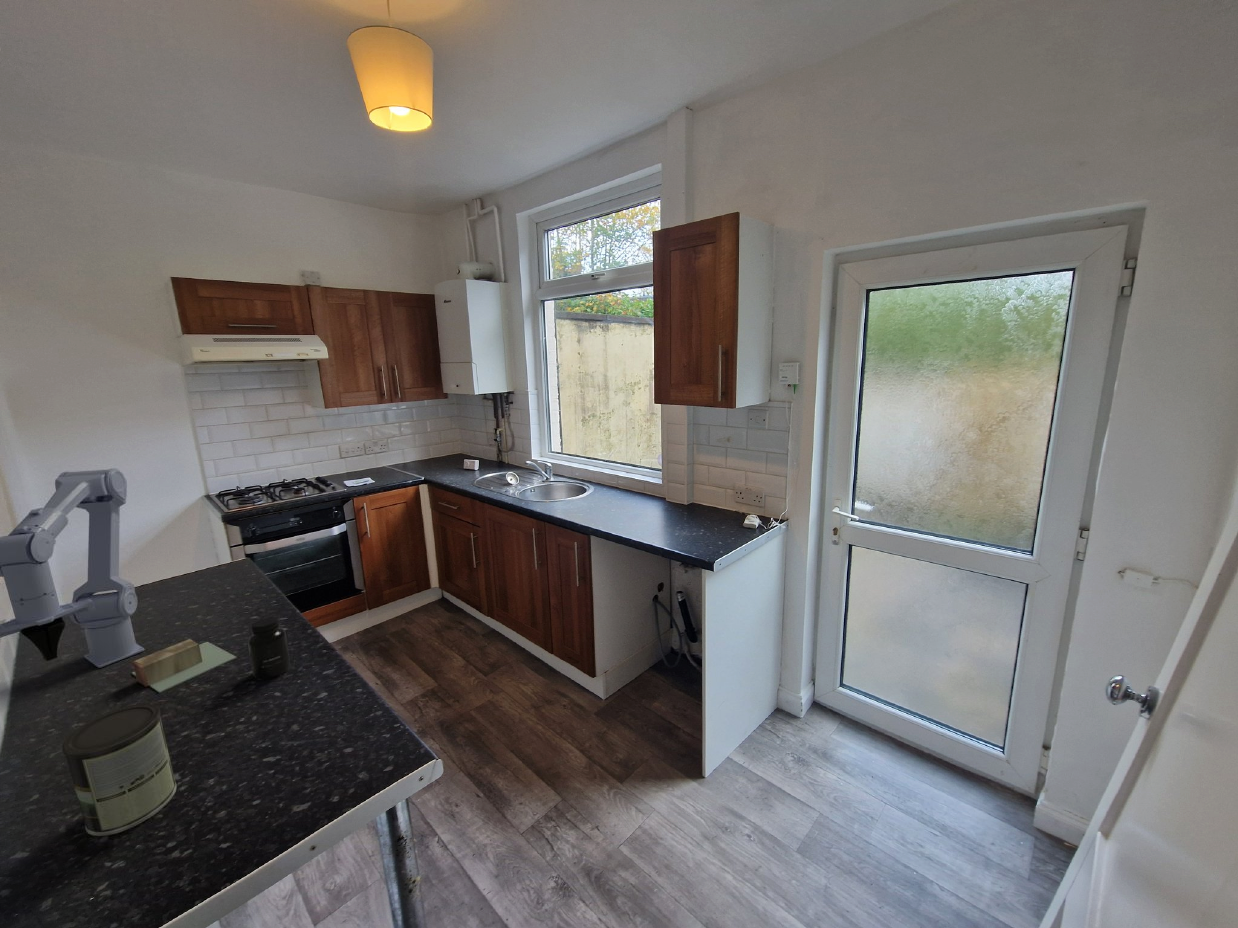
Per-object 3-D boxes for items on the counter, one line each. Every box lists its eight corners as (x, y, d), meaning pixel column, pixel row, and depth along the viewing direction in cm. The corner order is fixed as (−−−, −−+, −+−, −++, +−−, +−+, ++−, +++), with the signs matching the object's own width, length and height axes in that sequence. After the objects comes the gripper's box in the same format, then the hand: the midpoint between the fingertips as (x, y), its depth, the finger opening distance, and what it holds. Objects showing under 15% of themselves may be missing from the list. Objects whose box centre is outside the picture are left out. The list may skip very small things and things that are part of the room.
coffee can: (63, 840, 71) (38, 755, 68) (126, 781, 81) (107, 705, 78) (140, 833, 72) (119, 750, 69) (193, 775, 82) (177, 700, 79)
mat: (132, 673, 110) (131, 672, 110) (207, 642, 122) (207, 641, 122) (159, 692, 103) (159, 691, 103) (236, 657, 115) (236, 656, 115)
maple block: (132, 661, 106) (189, 638, 115) (136, 680, 107) (193, 656, 115) (141, 667, 104) (198, 643, 112) (145, 686, 105) (202, 661, 113)
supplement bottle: (272, 682, 106) (263, 631, 104) (245, 678, 107) (236, 628, 105) (298, 663, 113) (290, 615, 110) (273, 660, 114) (264, 612, 112)
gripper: (-22, 615, 87) (-1, 684, 90) (93, 583, 100) (108, 644, 102) (-32, 607, 90) (-12, 673, 93) (80, 576, 103) (95, 636, 106)
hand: (50, 657), depth 98 cm, fingers closed
